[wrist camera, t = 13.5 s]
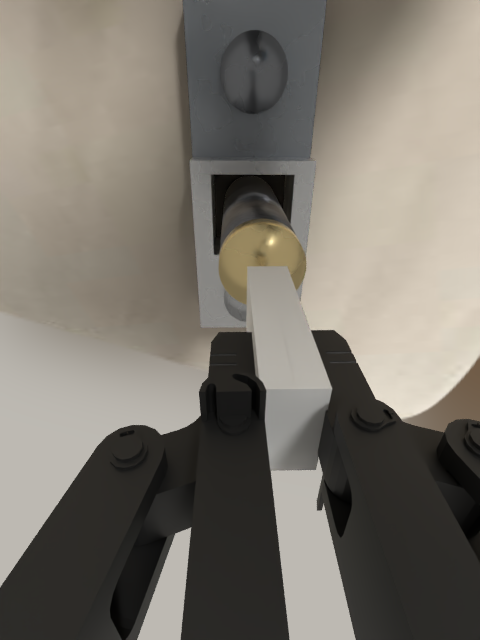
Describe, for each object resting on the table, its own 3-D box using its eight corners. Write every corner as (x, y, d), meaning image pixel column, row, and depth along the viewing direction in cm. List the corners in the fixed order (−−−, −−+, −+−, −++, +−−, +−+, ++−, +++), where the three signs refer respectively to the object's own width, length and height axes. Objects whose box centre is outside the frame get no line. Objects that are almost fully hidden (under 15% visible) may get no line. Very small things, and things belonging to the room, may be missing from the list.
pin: (223, 175, 25) (216, 224, 14) (276, 175, 25) (311, 224, 14) (224, 228, 27) (219, 307, 16) (273, 228, 27) (301, 306, 16)
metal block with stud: (186, -5, 20) (174, -36, 16) (319, -4, 20) (342, -33, 16) (204, 304, 31) (199, 333, 27) (290, 303, 31) (299, 332, 27)
